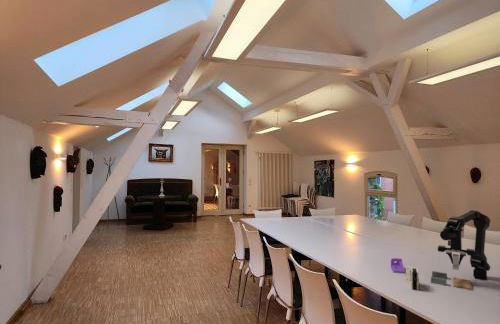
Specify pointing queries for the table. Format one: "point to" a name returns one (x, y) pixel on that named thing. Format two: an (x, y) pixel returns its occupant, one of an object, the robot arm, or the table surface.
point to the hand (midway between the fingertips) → (455, 264)
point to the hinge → (412, 276)
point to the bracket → (397, 265)
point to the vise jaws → (439, 278)
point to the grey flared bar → (455, 262)
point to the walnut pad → (462, 283)
